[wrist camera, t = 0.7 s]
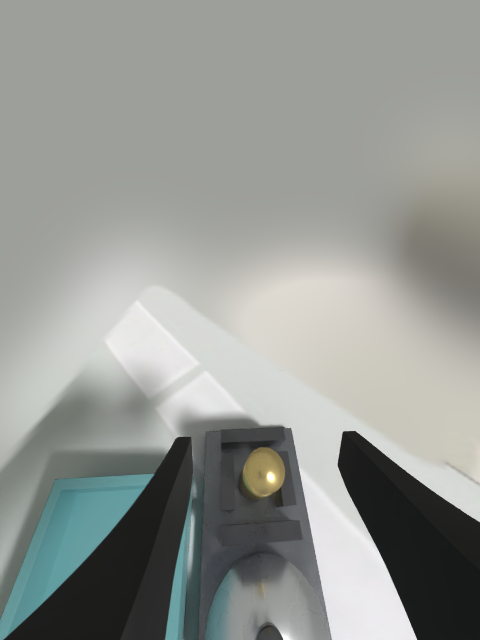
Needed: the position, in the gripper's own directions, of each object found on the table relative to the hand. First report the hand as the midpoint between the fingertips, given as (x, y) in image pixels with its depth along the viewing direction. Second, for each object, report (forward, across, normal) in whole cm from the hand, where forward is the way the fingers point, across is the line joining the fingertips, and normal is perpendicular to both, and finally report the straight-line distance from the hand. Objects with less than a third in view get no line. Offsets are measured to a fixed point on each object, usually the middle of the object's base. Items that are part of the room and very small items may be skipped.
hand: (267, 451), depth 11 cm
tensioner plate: (+6, -1, +17) cm, 18 cm away
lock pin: (+9, -1, +14) cm, 16 cm away
